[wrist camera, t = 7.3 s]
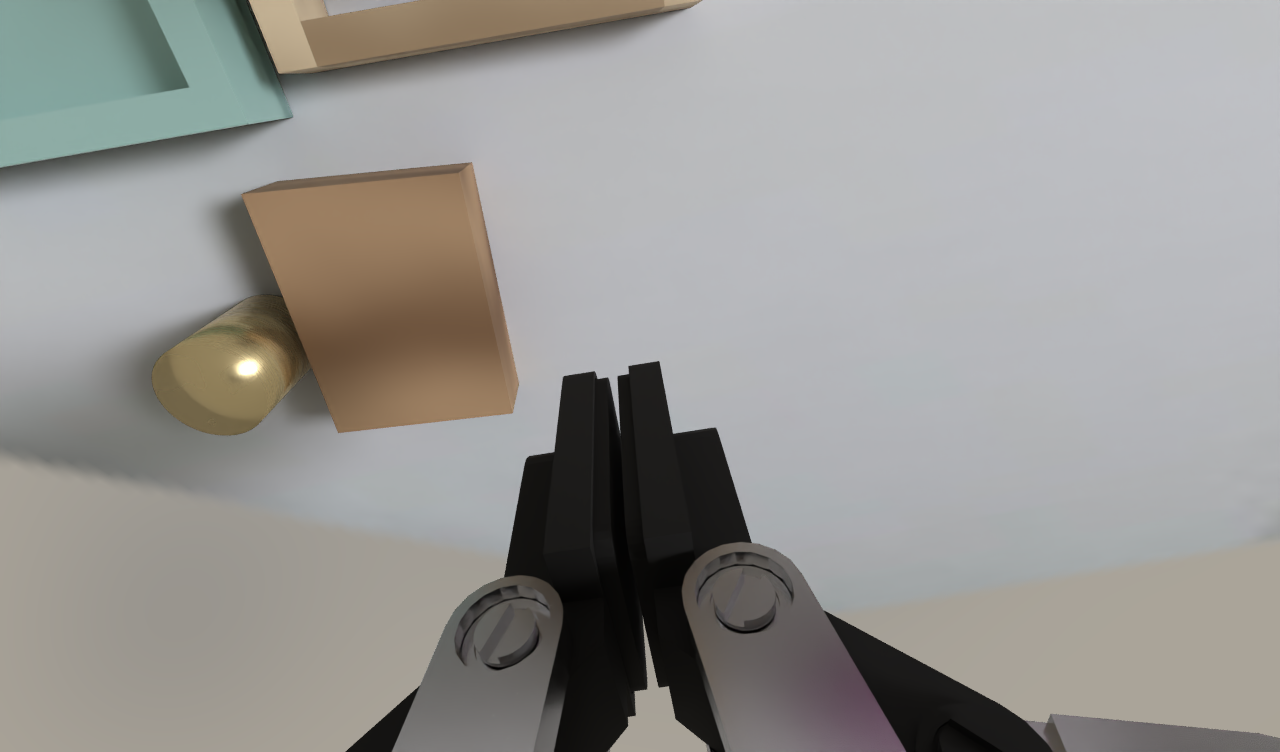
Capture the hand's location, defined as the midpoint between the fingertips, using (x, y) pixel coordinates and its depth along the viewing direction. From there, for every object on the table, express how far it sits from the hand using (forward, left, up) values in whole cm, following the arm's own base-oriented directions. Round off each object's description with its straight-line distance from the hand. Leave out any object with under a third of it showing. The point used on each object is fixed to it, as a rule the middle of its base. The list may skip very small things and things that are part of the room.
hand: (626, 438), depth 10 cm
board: (0, -7, -11) cm, 13 cm away
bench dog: (+1, -12, -11) cm, 16 cm away
